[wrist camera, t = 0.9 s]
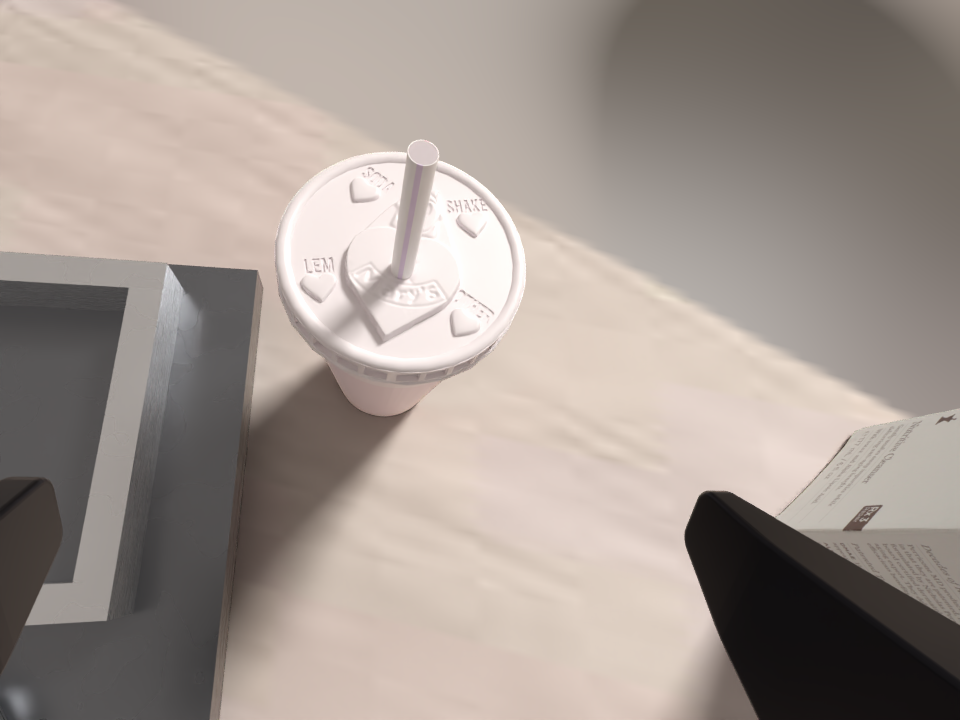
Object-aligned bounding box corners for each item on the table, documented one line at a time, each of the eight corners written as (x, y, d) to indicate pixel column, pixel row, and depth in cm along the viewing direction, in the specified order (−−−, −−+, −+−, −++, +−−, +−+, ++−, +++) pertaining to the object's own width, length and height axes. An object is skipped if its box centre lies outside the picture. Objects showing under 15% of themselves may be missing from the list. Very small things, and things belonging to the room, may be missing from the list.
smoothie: (281, 429, 21) (174, 227, 8) (328, 285, 23) (302, -49, 11) (444, 465, 22) (579, 334, 9) (473, 322, 24) (612, 57, 11)
